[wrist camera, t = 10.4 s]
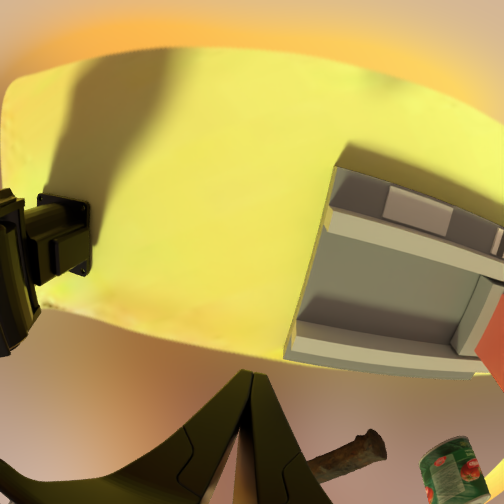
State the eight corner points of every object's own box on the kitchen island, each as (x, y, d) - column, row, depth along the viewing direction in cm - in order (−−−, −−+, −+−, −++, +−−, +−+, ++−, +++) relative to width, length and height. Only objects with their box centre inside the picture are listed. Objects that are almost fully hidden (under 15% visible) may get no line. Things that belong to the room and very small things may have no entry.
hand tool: (371, 421, 24) (377, 455, 20) (385, 436, 25) (392, 467, 21) (235, 471, 30) (229, 498, 25) (255, 482, 30) (250, 508, 26)
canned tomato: (407, 469, 27) (420, 530, 17) (441, 436, 24) (464, 503, 14) (445, 465, 27) (461, 518, 16) (478, 433, 24) (501, 489, 14)
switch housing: (283, 347, 22) (281, 376, 19) (333, 166, 18) (343, 167, 14) (464, 370, 21) (478, 392, 18) (524, 237, 17) (548, 249, 13)
